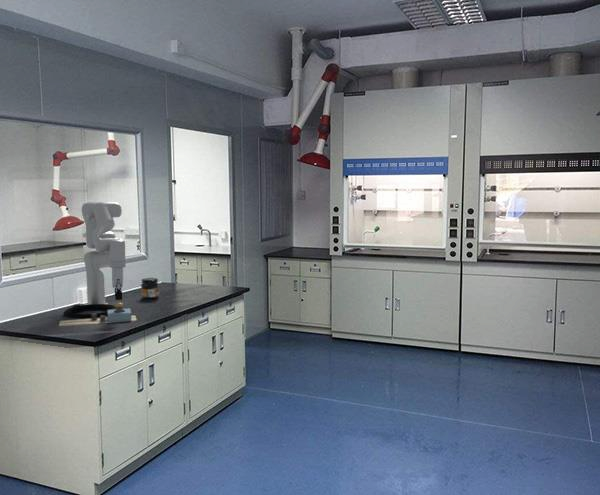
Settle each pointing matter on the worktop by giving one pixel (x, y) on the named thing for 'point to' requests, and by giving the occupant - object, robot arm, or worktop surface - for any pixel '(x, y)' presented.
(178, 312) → the worktop surface
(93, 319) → the board
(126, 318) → the end holder
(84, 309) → the cable lock
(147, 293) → the supplement container
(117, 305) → the connector plug
